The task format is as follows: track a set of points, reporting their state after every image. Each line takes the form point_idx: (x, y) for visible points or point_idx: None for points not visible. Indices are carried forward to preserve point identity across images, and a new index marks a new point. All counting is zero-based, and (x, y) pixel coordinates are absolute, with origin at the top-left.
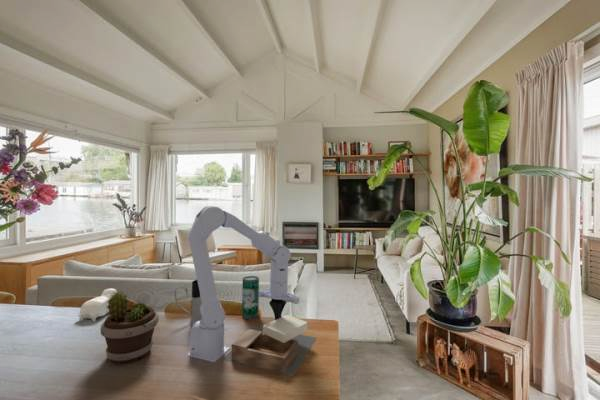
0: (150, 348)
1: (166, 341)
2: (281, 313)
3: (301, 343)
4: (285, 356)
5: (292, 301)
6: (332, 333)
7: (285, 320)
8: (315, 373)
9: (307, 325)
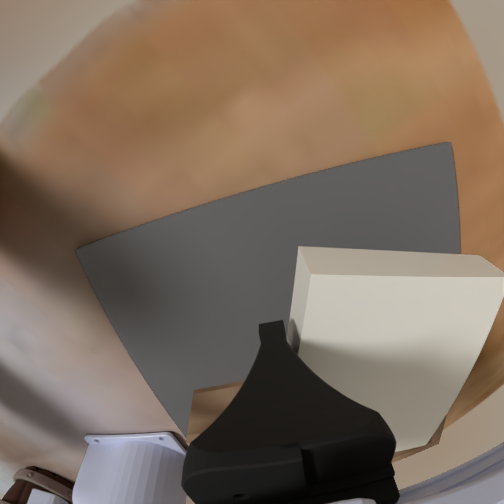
0: (68, 489)
1: (29, 446)
2: (292, 351)
3: (412, 246)
4: (437, 439)
5: (498, 465)
6: (471, 45)
7: (366, 363)
8: (491, 348)
9: (496, 267)
